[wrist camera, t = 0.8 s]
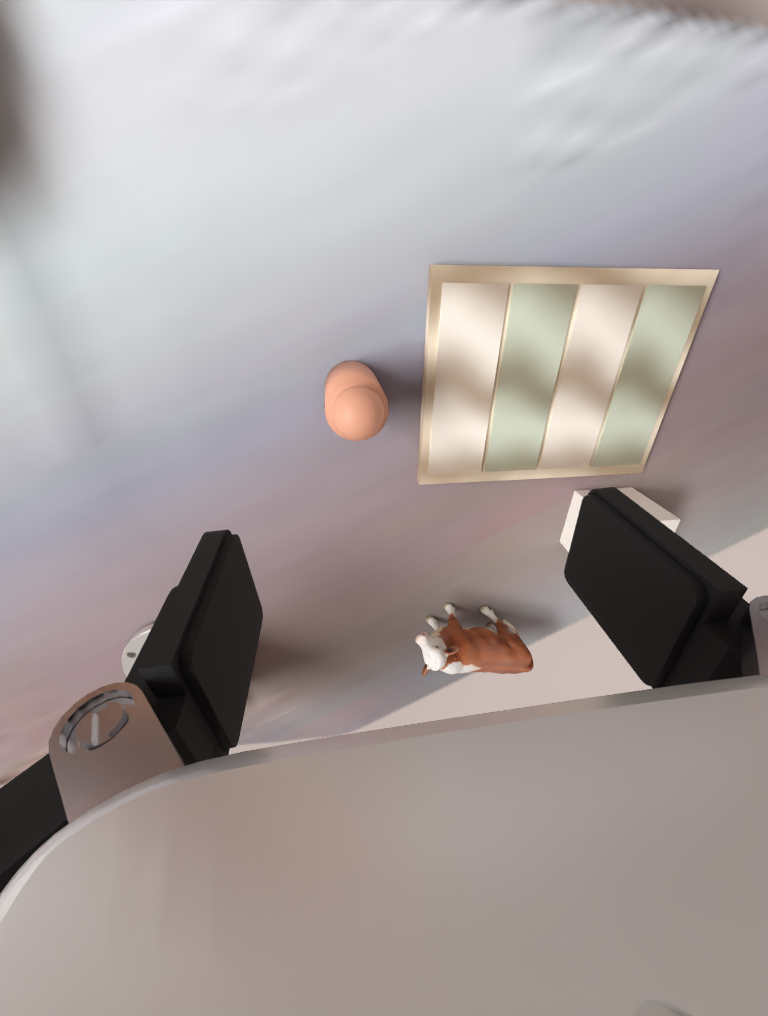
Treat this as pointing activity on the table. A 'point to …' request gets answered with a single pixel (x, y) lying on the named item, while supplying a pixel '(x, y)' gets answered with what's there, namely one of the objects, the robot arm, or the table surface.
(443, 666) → the bull figurine
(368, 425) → the peach rounded cylinder
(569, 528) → the die
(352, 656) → the table surface
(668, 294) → the game board
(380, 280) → the table surface
